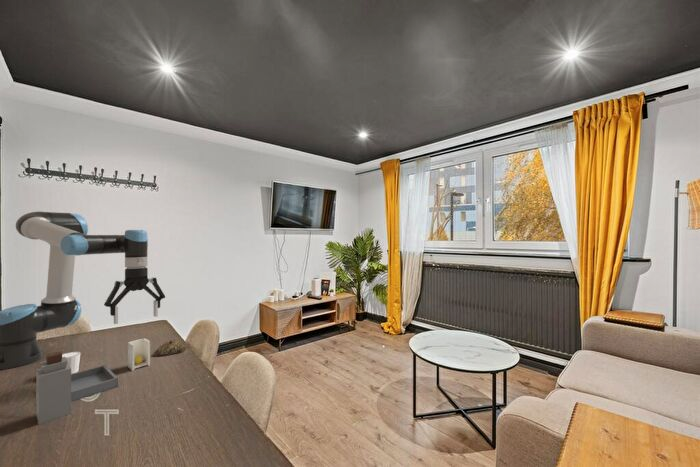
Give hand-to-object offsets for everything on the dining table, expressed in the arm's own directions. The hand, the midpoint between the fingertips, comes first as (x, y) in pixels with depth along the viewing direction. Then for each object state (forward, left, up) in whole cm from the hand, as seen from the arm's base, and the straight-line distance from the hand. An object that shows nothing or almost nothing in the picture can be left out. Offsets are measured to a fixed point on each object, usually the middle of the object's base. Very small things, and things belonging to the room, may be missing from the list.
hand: (136, 319), depth 120 cm
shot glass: (-16, -18, -20) cm, 31 cm away
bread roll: (-9, +16, -20) cm, 27 cm away
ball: (-1, +1, -17) cm, 17 cm away
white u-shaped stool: (-1, +1, -19) cm, 19 cm away
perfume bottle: (+18, -26, -20) cm, 37 cm away
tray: (+4, -17, -19) cm, 26 cm away
